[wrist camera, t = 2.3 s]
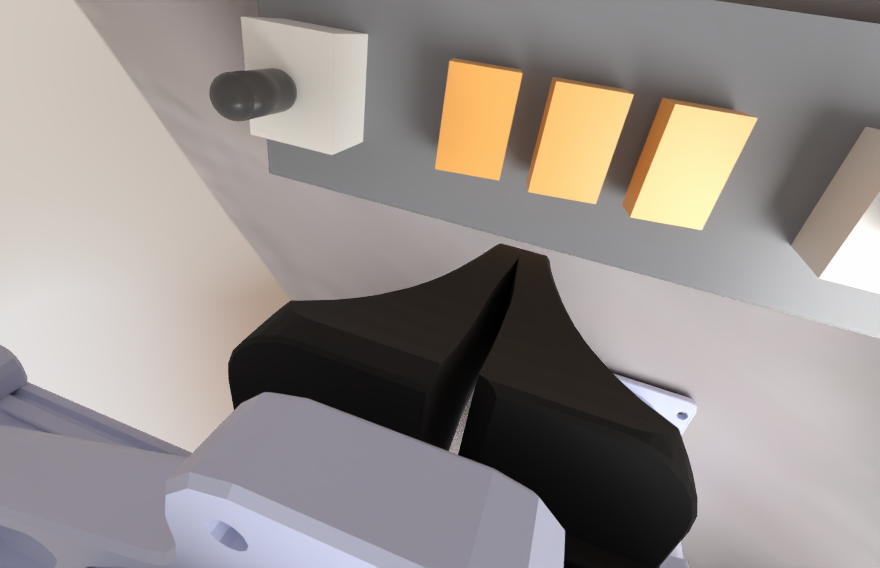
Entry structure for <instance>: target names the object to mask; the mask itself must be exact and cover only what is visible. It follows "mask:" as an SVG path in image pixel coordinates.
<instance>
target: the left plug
mask: <svg viewBox="0 0 880 568" xmlns="http://www.w3.org/2000/svg"><path fill="white" fill-rule="evenodd" d="M240 17H241V28H242V40H243V52H244V64H245V71H235V72H226V73H222V74H220V75H219V76H217V77H216V78H215V79H214V80H213V82H212V84H211V86H210V99H211V102H212V104H213V106H214V108H215V109H216V110H217V111H218V113H219V114H221V115H222V116H223V117H225V118H227V119H229V120H233V121H245V120H249V122H250V134H251V135H254V136H258V137H262V138H266V139H270V140H274V141H278V142H282V143H286V144H290V145H294V146H298V147H302V148H306V149H310V150H314V151H318V152H322V153H325V154H329V155H333V154H336V153H338V152H341V151H343V150H345V149H348V148H350V147H352V146H355V145H357V144H359V143H362V142H363V132H364V111H365V90H366V68H367V47H368V34H365V33H359V32H354V31H349V30H343V29H338V28H332V27H327V26H322V25H316V24H311V23H305V22H300V21H295V20H289V19H282V18H264V17H246V16H240Z"/></svg>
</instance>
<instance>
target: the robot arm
mask: <svg viewBox="0 0 880 568" xmlns="http://www.w3.org/2000/svg"><path fill="white" fill-rule="evenodd" d="M228 374H229V384H230V390H231V395H232V401H233V407H234V411H233V412H232V413H231V414H230V415H229V416H228V417H227V418H226V419H225V420H224V421H223V422H222V423H221V424H220V425H219V426H218V428H217V429H216V430H215V431H214V432H213V433H212V434H211V435H210V436H209V437H208V438H207V439H206V440H205V441H204V442H203V443H202V444H201V445H200V446H199V447H198V448H197V449H196V450H195V451H194V452H193V453H191V452H188V451H186V450H184V449H182V448H179V447H177V446H175V445H172V444H170V443H168V442H165V441H163V440H160V439H158V438H156V437H154V436H151V435H149V434H147V433H145V432H142V431H140V430H137V429H135V428H133V427H131V426H128V425H126V424H123V423H121V422H119V421H116V420H114V419H112V418H109V417H107V416H105V415H103V414H100V413H98V412H96V411H93V410H91V409H89V408H86V407H84V406H82V405H79V404H77V403H75V402H73V401H70V400H68V399H66V398H63V397H61V396H59V395H56V394H54V393H52V392H49V391H47V390H45V389H42V388H40V387H38V386H36V385H33V384H31V383H29V382H27V376H26V373H25V371H24V368H23V366H22V365H21V363H20V362H19V360H18V359H17V357H16V356H15V355H14V354H13V353H12V352H10V351H9V350H8V349H6V348H5V347H3V346H1V345H0V568H689V564H688V561H687V560H686V559H683V553H682V546H681V540H682V539H683V538H684V537H685V536H686V534H687V533H688V532H689V531H690V529H691V527H692V525H693V523H694V521H695V519H696V517H697V494H696V488H695V483H694V478H693V473H692V469H691V465H690V462H689V458H688V455H687V452H686V449H685V446H684V443H683V440H682V437H681V435H682V433H683V432H684V430H685V429H686V427H687V426H688V424H689V423H690V421H691V420H692V418H693V417H694V415H695V413H696V412H697V406H696V402H695V401H694V400H693V399H691V398H688V397H685V396H682V395H679V394H676V393H673V392H669V391H666V390H663V389H660V388H657V387H654V386H651V385H648V384H644V383H641V382H638V381H635V380H632V379H629V378H626V377H623V376H620V375H616V374H613V373H612V372H611V371H610V370H609V369H608V368H607V367H606V366H605V365H604V363H603V362H602V361H601V360H600V359H599V358H598V357H597V355H596V354H595V353H594V352H593V351H592V350H591V348H590V347H589V346H588V345H587V343H586V342H585V341H584V339H583V338H582V336H581V335H580V333H579V332H578V330H577V329H576V328H575V326H574V324H573V322H572V321H571V319H570V317H569V315H568V313H567V311H566V309H565V307H564V305H563V303H562V300H561V298H560V295H559V293H558V290H557V288H556V285H555V282H554V279H553V276H552V272H551V268H550V261H549V259H548V257H547V256H545V255H541V254H538V253H534V252H530V251H526V250H523V249H519V248H515V247H512V246H508V245H504V244H501V243H500V244H498V245H496V246H495V247H493V248H492V249H490V250H488V251H487V252H485V253H484V254H482V255H481V256H479V257H477V258H476V259H474V260H472V261H471V262H469V263H467V264H465V265H464V266H462V267H460V268H458V269H456V270H454V271H452V272H450V273H448V274H446V275H444V276H442V277H439V278H437V279H434V280H432V281H429V282H426V283H423V284H420V285H417V286H414V287H410V288H407V289H402V290H398V291H393V292H389V293H385V294H380V295H374V296H367V297H360V298H351V299H340V300H312V301H290V302H289V303H287V304H286V305H284V306H283V307H282V308H281V309H279V310H278V311H277V312H276V313H274V314H273V315H272V316H271V317H270V318H269V319H268V320H266V321H265V322H264V323H263V324H262V325H260V326H259V327H258V328H257V329H256V330H255V331H254V332H253V333H251V334H250V335H249V336H248V337H247V338H246V339H245V340H243V341H242V343H241V344H239V345H238V346H237V347H236V348H235V349H234V350H233V352H232V355H231V357H230V360H229V363H228ZM475 385H476V386H475ZM474 387H475V390H474V394H473V398H472V402H471V406H470V410H469V414H468V418H467V422H466V426H465V430H464V434H463V438H462V442H461V446H460V450H459V453H458V455H457V454H454V453H451V452H449V449H450V446H451V443H452V440H453V437H454V435H455V432H456V429H457V426H458V423H459V421H460V418H461V416H462V413H463V411H464V409H465V406H466V404H467V402H468V400H469V398H470V396H471V394H472V392H473V389H474ZM679 412H685V414H678V413H679Z"/></svg>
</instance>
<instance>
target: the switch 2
mask: <svg viewBox="0 0 880 568" xmlns="http://www.w3.org/2000/svg"><path fill="white" fill-rule="evenodd" d="M757 119H758V118H756V117H754V116H751V115H749V114H746V113H744V112H741V111H738V110H732V109H726V108H720V107H714V106H708V105H702V104H697V103H691V102H685V101H679V100H673V99H667V98H662V101H661V103H660V106H659V108H658V111H657V114H656V116H655V119H654V122H653V124H652V127H651V129H650V132H649V135H648V137H647V140H646V143H645V145H644V148H643V150H642V153H641V156H640V158H639V161H638V163H637V166H636V169H635V171H634V174H633V177H632V179H631V182H630V184H629V187H628V190H627V192H626V195H625V197H624V200H623V203H622V206H623V207H624V209H625V210H626V212H627V213H628V215H629V216H630V217H631V218H636V219H642V220H648V221H653V222H659V223H664V224H670V225H676V226H681V227H687V228H692V229H698V230H702V229H703V227H704V225H705V223H706V221H707V219H708V217H709V215H710V213H711V211H712V209H713V207H714V205H715V203H716V201H717V199H718V197H719V195H720V193H721V191H722V189H723V187H724V185H725V183H726V181H727V179H728V177H729V175H730V173H731V171H732V169H733V167H734V165H735V163H736V161H737V159H738V157H739V155H740V153H741V151H742V149H743V147H744V145H745V143H746V141H747V139H748V137H749V135H750V133H751V131H752V129H753V127H754V125H755V123H756V121H757Z"/></svg>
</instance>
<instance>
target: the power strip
mask: <svg viewBox="0 0 880 568" xmlns="http://www.w3.org/2000/svg"><path fill="white" fill-rule="evenodd" d="M258 9H259V17H264V18H282V19H289V20H295V21H300V22H305V23H311V24H316V25H322V26H327V27H332V28H338V29H343V30H349V31H354V32H359V33H365V34H368V47H367V68H366V90H365V111H364V132H363V142H362V143H359V144H357V145H355V146H352V147H350V148H348V149H345V150H343V151H341V152H338V153H336V154H333V155H329V154H325V153H322V152H318V151H314V150H310V149H306V148H302V147H298V146H294V145H290V144H286V143H282V142H278V141H274V140H270V139H267V144H268V159H269V173H271V174H275V175H278V176H282V177H286V178H289V179H293V180H297V181H300V182H304V183H308V184H311V185H315V186H319V187H322V188H326V189H330V190H334V191H337V192H341V193H345V194H348V195H352V196H356V197H359V198H363V199H367V200H370V201H374V202H378V203H381V204H385V205H389V206H392V207H396V208H400V209H403V210H407V211H411V212H415V213H418V214H422V215H426V216H429V217H433V218H437V219H440V220H444V221H448V222H451V223H455V224H459V225H462V226H466V227H470V228H473V229H477V230H481V231H485V232H488V233H492V234H496V235H499V236H503V237H507V238H510V239H514V240H518V241H521V242H525V243H529V244H532V245H536V246H540V247H543V248H547V249H551V250H554V251H558V252H562V253H566V254H569V255H573V256H577V257H580V258H584V259H588V260H591V261H595V262H599V263H602V264H606V265H610V266H613V267H617V268H621V269H624V270H628V271H632V272H635V273H639V274H643V275H647V276H650V277H654V278H658V279H661V280H665V281H669V282H672V283H676V284H680V285H683V286H687V287H691V288H694V289H698V290H702V291H705V292H709V293H713V294H716V295H720V296H724V297H728V298H731V299H735V300H739V301H742V302H746V303H750V304H753V305H757V306H761V307H764V308H768V309H772V310H775V311H779V312H783V313H786V314H790V315H794V316H797V317H801V318H805V319H809V320H812V321H816V322H820V323H823V324H827V325H831V326H834V327H838V328H842V329H845V330H849V331H853V332H856V333H860V334H864V335H867V336H871V337H875V338H878V339H880V294H879V293H875V292H871V291H867V290H863V289H859V288H855V287H851V286H847V285H843V284H839V283H835V282H831V281H827V280H823V279H819V278H818V277H817V276H816V275H815V273H814V272H813V271H812V270H811V269H810V268H809V266H808V265H807V264H806V263H805V262H804V261H803V259H802V258H801V257H800V256H799V255H798V254H797V252H796V251H795V250H794V249H793V248H792V247H791V244H792V243H793V241H794V239H795V238H796V236H797V235H798V233H799V232H800V230H801V228H802V227H803V225H804V224H805V222H806V220H807V219H808V217H809V216H810V214H811V213H812V211H813V209H814V208H815V206H816V205H817V203H818V201H819V200H820V198H821V197H822V195H823V194H824V192H825V190H826V189H827V187H828V186H829V184H830V182H831V181H832V179H833V178H834V176H835V175H836V173H837V171H838V170H839V168H840V167H841V165H842V163H843V162H844V160H845V159H846V157H847V156H848V154H849V152H850V151H851V149H852V148H853V146H854V144H855V143H856V141H857V140H858V138H859V137H860V135H861V133H862V132H863V130H864V129H865V127H871V128H876V129H880V24H877V23H870V22H863V21H856V20H849V19H842V18H835V17H828V16H821V15H814V14H807V13H800V12H793V11H785V10H778V9H771V8H764V7H757V6H750V5H743V4H736V3H729V2H722V1H715V0H258ZM452 58H456V59H462V60H468V61H474V62H480V63H486V64H492V65H497V66H503V67H509V68H515V69H521V70H522V73H523V74H522V79H521V83H520V88H519V92H518V97H517V102H516V106H515V111H514V115H513V120H512V125H511V129H510V134H509V138H508V143H507V147H506V152H505V157H504V161H503V166H502V170H501V175H500V179H499V180H493V179H488V178H482V177H476V176H471V175H465V174H459V173H454V172H448V171H442V170H437V169H435V164H436V157H437V149H438V142H439V135H440V127H441V120H442V113H443V105H444V98H445V91H446V83H447V76H448V69H449V61H450V60H451V59H452ZM553 77H556V78H562V79H568V80H574V81H580V82H586V83H592V84H598V85H603V86H609V87H615V88H621V89H625V90H627V91H629V92H631V93H632V94H634V96H633V99H632V102H631V105H630V108H629V110H628V113H627V116H626V119H625V122H624V125H623V128H622V130H621V133H620V136H619V139H618V142H617V145H616V148H615V151H614V153H613V156H612V159H611V162H610V165H609V168H608V171H607V173H606V176H605V179H604V182H603V185H602V188H601V191H600V194H599V196H598V199H597V202H596V204H592V203H586V202H581V201H575V200H569V199H564V198H558V197H552V196H547V195H541V194H536V193H530V192H528V189H527V183H526V181H527V177H528V173H529V169H530V165H531V161H532V157H533V153H534V149H535V145H536V141H537V137H538V133H539V129H540V125H541V121H542V117H543V113H544V109H545V105H546V101H547V97H548V93H549V89H550V86H551V82H552V78H553ZM662 98H667V99H673V100H679V101H685V102H691V103H697V104H702V105H708V106H714V107H720V108H726V109H732V110H738V111H741V112H744V113H746V114H749V115H751V116H754V117H756V118H758V119H757V121H756V123H755V125H754V127H753V129H752V131H751V133H750V135H749V137H748V139H747V141H746V143H745V145H744V147H743V149H742V151H741V153H740V155H739V157H738V159H737V161H736V163H735V165H734V167H733V169H732V171H731V173H730V175H729V177H728V179H727V181H726V183H725V185H724V187H723V189H722V191H721V193H720V195H719V197H718V199H717V201H716V203H715V205H714V207H713V209H712V211H711V213H710V215H709V217H708V219H707V221H706V223H705V225H704V227H703V229H702V230H698V229H692V228H687V227H681V226H676V225H670V224H664V223H659V222H653V221H648V220H642V219H636V218H631V217H630V216H629V215H628V213H627V212H626V210H625V209H624V207H623V206H622V203H623V200H624V197H625V195H626V192H627V190H628V187H629V184H630V182H631V179H632V177H633V174H634V171H635V169H636V166H637V163H638V161H639V158H640V156H641V153H642V150H643V148H644V145H645V143H646V140H647V137H648V135H649V132H650V129H651V127H652V124H653V122H654V119H655V116H656V114H657V111H658V108H659V106H660V103H661V101H662Z"/></svg>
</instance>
